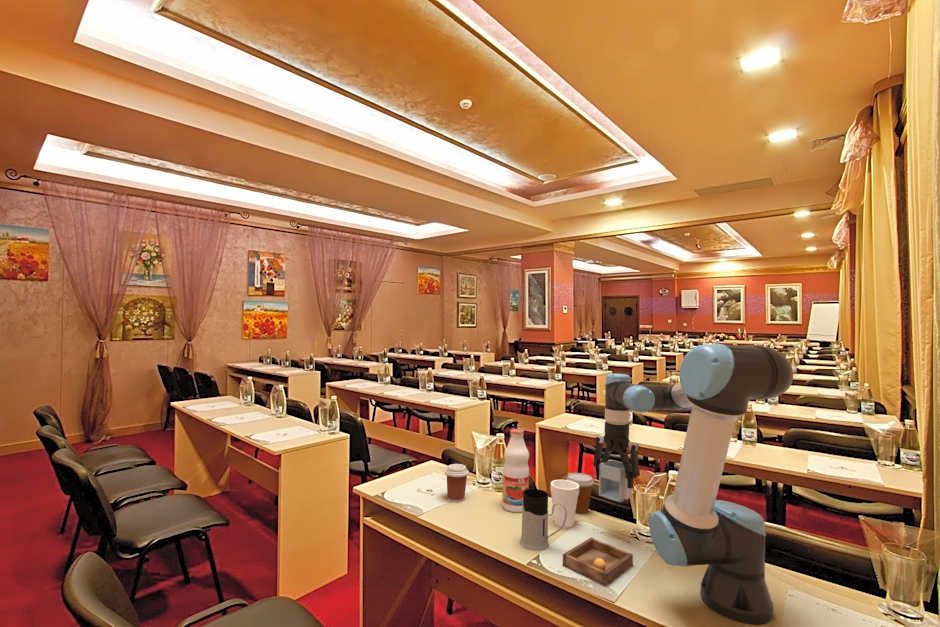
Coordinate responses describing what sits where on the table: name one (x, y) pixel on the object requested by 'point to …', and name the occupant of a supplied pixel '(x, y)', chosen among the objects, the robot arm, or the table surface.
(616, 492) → the grey frame
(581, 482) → the disposable coffee cup
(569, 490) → the foam cup
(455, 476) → the coffee cup
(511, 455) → the fruit juice
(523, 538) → the grey mug
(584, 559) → the tray
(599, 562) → the ball
